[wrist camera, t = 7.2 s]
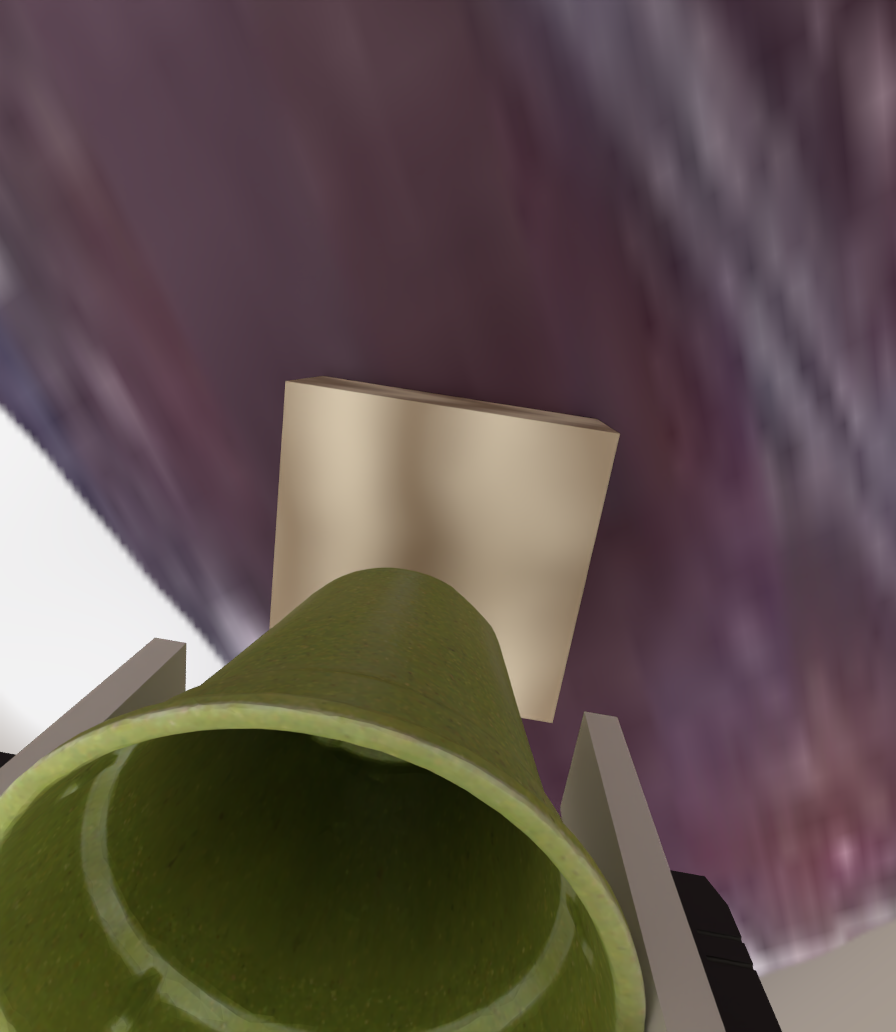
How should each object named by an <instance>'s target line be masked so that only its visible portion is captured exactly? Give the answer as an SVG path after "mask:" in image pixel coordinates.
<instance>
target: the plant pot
mask: <svg viewBox="0 0 896 1032" xmlns="http://www.w3.org/2000/svg"><path fill="white" fill-rule="evenodd" d="M645 1018H646V998H645V989H644V982H643V976H642V971H641V967H640V963H639V960H638V956H637V952H636V949H635V946H634V942H633V939H632V936H631V933H630V930H629V927H628V924H627V921H626V919H625V917H624V914H623V912H622V909H621V907H620V905H619V903H618V901H617V899H616V897H615V895H614V893H613V891H612V888H611V886H610V885H609V883H608V882H607V880H606V879H605V877H604V875H603V874H602V872H601V871H600V869H599V868H598V866H597V864H596V863H595V861H594V860H593V858H592V857H591V856H590V854H589V853H588V852H587V850H586V849H585V848H584V847H583V845H582V844H581V843H580V841H579V840H578V839H577V837H576V836H575V835H574V834H573V833H572V832H571V831H570V830H569V829H568V828H567V826H566V825H565V824H564V823H563V822H562V820H561V818H560V816H559V814H558V813H557V811H556V809H555V808H554V806H553V805H552V803H551V802H550V800H549V799H548V797H547V796H546V794H545V793H544V790H543V787H542V784H541V781H540V778H539V775H538V771H537V768H536V765H535V762H534V759H533V755H532V752H531V749H530V746H529V743H528V740H527V736H526V733H525V730H524V727H523V723H522V720H521V716H520V713H519V710H518V706H517V703H516V700H515V696H514V693H513V689H512V686H511V682H510V679H509V675H508V672H507V668H506V665H505V662H504V659H503V655H502V651H501V648H500V645H499V642H498V639H497V637H496V634H495V632H494V630H493V628H492V627H491V625H490V624H489V623H488V622H487V621H486V619H485V618H484V617H483V616H482V615H481V614H480V613H479V612H478V611H477V610H476V608H475V607H474V606H472V605H471V604H470V603H469V602H468V601H467V600H466V599H465V598H464V597H463V596H462V595H461V594H460V593H458V592H457V591H456V590H455V589H454V588H453V587H452V586H450V585H448V584H447V583H445V582H443V581H441V580H439V579H437V578H435V577H432V576H430V575H427V574H423V573H420V572H416V571H411V570H407V569H400V568H372V569H365V570H360V571H355V572H352V573H349V574H347V575H344V576H341V577H339V578H337V579H335V580H333V581H332V582H330V583H328V584H327V585H325V586H324V587H322V588H321V589H319V590H318V591H316V592H315V593H313V594H312V595H311V596H310V597H308V598H307V599H306V600H305V601H304V602H302V603H301V604H300V605H299V606H297V607H296V608H295V609H294V610H293V611H291V612H290V613H289V614H288V615H287V616H286V617H284V618H283V619H282V620H281V621H280V622H279V623H277V624H276V625H275V626H274V627H272V628H271V629H270V630H269V631H267V632H266V633H265V634H264V635H262V636H261V637H260V638H259V639H257V640H256V641H255V642H254V643H252V644H251V645H250V646H249V647H248V648H246V649H245V650H244V651H243V652H241V653H240V654H239V655H238V656H237V657H235V658H234V659H233V660H232V661H230V662H229V663H228V664H227V665H225V666H224V667H223V668H222V669H220V670H219V671H218V672H216V673H215V674H214V675H213V676H211V677H210V678H209V679H208V680H206V681H205V682H204V683H203V684H201V685H200V686H198V687H195V688H192V689H190V690H187V691H185V692H183V693H181V694H179V695H176V696H174V697H172V698H170V699H168V700H167V701H165V702H162V703H158V704H154V705H150V706H146V707H143V708H140V709H137V710H134V711H131V712H128V713H126V714H123V715H120V716H117V717H114V718H111V719H109V720H106V721H104V722H102V723H100V724H98V725H96V726H94V727H92V728H90V729H88V730H85V731H83V732H81V733H79V734H78V735H76V736H74V737H73V738H71V739H70V740H68V741H66V742H65V743H63V744H61V745H60V746H58V747H57V748H56V749H54V750H53V751H51V752H50V753H49V754H47V755H46V756H44V757H43V758H41V759H40V760H39V761H37V762H36V763H35V764H34V765H33V766H31V767H30V768H29V769H28V770H27V771H25V772H24V773H23V774H22V775H21V776H19V777H18V778H17V779H16V780H15V781H14V782H13V783H12V784H11V785H10V786H9V787H8V788H7V789H6V790H5V791H4V792H3V794H2V795H1V796H0V1032H644V1027H645Z"/></svg>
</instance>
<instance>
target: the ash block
mask: <svg viewBox="0 0 896 1032" xmlns="http://www.w3.org/2000/svg"><path fill="white" fill-rule="evenodd" d="M619 436H620V433H618V432H616V431H615V430H613V429H612V428H610V427H609V426H607V425H605V424H604V423H602V422H601V421H599V420H598V419H593V418H587V417H581V416H574V415H568V414H561V413H555V412H549V411H542V410H536V409H530V408H523V407H517V406H511V405H504V404H498V403H491V402H485V401H479V400H472V399H466V398H460V397H453V396H447V395H440V394H434V393H428V392H421V391H415V390H409V389H402V388H396V387H389V386H383V385H377V384H370V383H364V382H358V381H351V380H345V379H339V378H332V377H326V376H319V377H312V378H304V379H297V380H290V381H286V383H285V399H284V414H283V429H282V445H281V460H280V476H279V491H278V506H277V522H276V537H275V553H274V568H273V584H272V599H271V614H270V629H271V628H272V627H274V626H275V625H276V624H277V623H279V622H280V621H281V620H282V619H283V618H284V617H286V616H287V615H288V614H289V613H290V612H291V611H293V610H294V609H295V608H296V607H297V606H299V605H300V604H301V603H302V602H304V601H305V600H306V599H307V598H308V597H310V596H311V595H312V594H313V593H315V592H316V591H318V590H319V589H321V588H322V587H324V586H325V585H327V584H328V583H330V582H332V581H333V580H335V579H337V578H339V577H341V576H344V575H347V574H349V573H352V572H355V571H360V570H365V569H372V568H400V569H407V570H411V571H416V572H420V573H423V574H427V575H430V576H432V577H435V578H437V579H439V580H441V581H443V582H445V583H447V584H448V585H450V586H452V587H453V588H454V589H455V590H456V591H457V592H458V593H460V594H461V595H462V596H463V597H464V598H465V599H466V600H467V601H468V602H469V603H470V604H471V605H472V606H474V607H475V608H476V610H477V611H478V612H479V613H480V614H481V615H482V616H483V617H484V618H485V619H486V621H487V622H488V623H489V624H490V625H491V627H492V628H493V630H494V632H495V634H496V637H497V639H498V642H499V645H500V648H501V651H502V655H503V659H504V662H505V665H506V668H507V672H508V675H509V679H510V682H511V686H512V689H513V693H514V696H515V700H516V703H517V706H518V710H519V713H520V716H521V718H527V719H532V720H538V721H544V722H550V723H552V722H553V718H554V714H555V709H556V705H557V701H558V697H559V692H560V688H561V684H562V679H563V675H564V671H565V667H566V662H567V658H568V654H569V650H570V645H571V641H572V637H573V632H574V628H575V624H576V620H577V615H578V611H579V607H580V602H581V598H582V594H583V590H584V585H585V581H586V577H587V573H588V568H589V564H590V560H591V555H592V551H593V547H594V543H595V538H596V534H597V530H598V526H599V521H600V517H601V513H602V508H603V504H604V500H605V496H606V491H607V487H608V483H609V479H610V474H611V470H612V466H613V461H614V457H615V453H616V449H617V444H618V440H619Z"/></svg>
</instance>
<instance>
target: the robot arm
mask: <svg viewBox="0 0 896 1032" xmlns="http://www.w3.org/2000/svg"><path fill="white" fill-rule="evenodd" d="M185 683H186V643H182V642H177V641H170V640H165V639H159V638H154V639H153V640H152V641H151V642H150V643H148V644H147V645H146V646H145V647H143V648H142V649H141V650H140V651H139V652H137V653H136V654H135V655H134V656H133V657H132V658H130V659H129V660H128V661H127V662H126V663H124V664H123V665H122V666H121V667H120V668H119V669H118V670H116V671H115V672H114V673H113V674H112V675H110V676H109V677H108V678H107V679H105V680H104V681H103V682H102V683H101V684H100V685H98V686H97V687H96V688H95V689H94V690H92V691H91V692H90V693H89V694H88V695H87V696H86V697H84V698H83V699H82V700H81V701H79V702H78V703H77V704H76V705H75V706H74V707H72V708H71V709H70V710H69V711H68V712H66V713H65V714H64V715H63V716H62V717H60V718H59V719H58V720H57V721H56V722H55V723H53V724H52V725H51V726H50V727H49V728H47V729H46V730H45V731H44V732H43V733H42V734H40V735H39V736H38V737H37V738H36V739H34V740H33V741H32V742H31V743H30V744H28V745H27V746H26V747H25V748H24V749H23V750H21V751H20V752H19V753H18V754H17V755H14V754H9V753H3V752H0V796H1V795H2V794H3V792H4V791H5V790H6V789H7V788H8V787H9V786H10V785H11V784H12V783H13V782H14V781H15V780H16V779H17V778H18V777H19V776H21V775H22V774H23V773H24V772H25V771H27V770H28V769H29V768H30V767H31V766H33V765H34V764H35V763H36V762H37V761H39V760H40V759H41V758H43V757H44V756H46V755H47V754H49V753H50V752H51V751H53V750H54V749H56V748H57V747H58V746H60V745H61V744H63V743H65V742H66V741H68V740H70V739H71V738H73V737H74V736H76V735H78V734H79V733H81V732H83V731H85V730H88V729H90V728H92V727H94V726H96V725H98V724H100V723H102V722H104V721H106V720H109V719H111V718H114V717H117V716H120V715H123V714H126V713H128V712H131V711H134V710H137V709H140V708H143V707H146V706H150V705H154V704H158V703H162V702H165V701H167V700H168V699H170V698H172V697H174V696H176V695H179V694H181V693H183V692H185ZM560 808H561V814H562V821H563V823H564V824H565V825H566V826H567V828H568V829H569V830H570V831H571V832H572V833H573V834H574V835H575V836H576V837H577V839H578V840H579V841H580V843H581V844H582V845H583V847H584V848H585V849H586V850H587V852H588V853H589V854H590V856H591V857H592V858H593V860H594V861H595V863H596V864H597V866H598V868H599V869H600V871H601V872H602V874H603V875H604V877H605V879H606V880H607V882H608V883H609V885H610V886H611V888H612V891H613V893H614V895H615V897H616V899H617V901H618V903H619V905H620V907H621V909H622V912H623V914H624V917H625V919H626V921H627V924H628V927H629V930H630V933H631V936H632V939H633V942H634V946H635V949H636V952H637V956H638V960H639V963H640V967H641V971H642V976H643V982H644V989H645V998H646V1018H645V1027H644V1032H782V1031H781V1028H780V1026H779V1024H778V1021H777V1019H776V1017H775V1014H774V1012H773V1010H772V1007H771V1005H770V1003H769V1000H768V998H767V996H766V993H765V991H764V989H763V986H762V984H761V982H760V979H759V977H758V975H757V972H756V971H755V970H753V963H752V960H751V958H750V956H749V953H748V951H747V949H746V946H745V944H744V943H742V941H741V935H740V932H739V930H738V928H737V925H736V923H735V921H734V918H733V916H732V914H731V911H730V909H729V907H728V905H727V904H726V902H725V901H724V900H723V899H722V897H721V896H720V895H719V894H718V892H717V891H716V890H715V889H714V887H713V886H712V885H711V884H710V882H709V881H708V880H707V879H706V877H705V876H699V875H694V874H688V873H683V872H677V871H671V870H670V869H669V866H668V863H667V860H666V857H665V854H664V852H663V849H662V846H661V843H660V840H659V837H658V834H657V831H656V828H655V825H654V823H653V820H652V817H651V814H650V811H649V808H648V805H647V802H646V799H645V797H644V794H643V791H642V788H641V785H640V782H639V779H638V776H637V773H636V770H635V768H634V765H633V762H632V759H631V756H630V753H629V750H628V747H627V744H626V741H625V739H624V736H623V733H622V730H621V727H620V724H619V721H618V718H617V717H613V716H607V715H601V714H596V713H590V712H584V715H583V719H582V723H581V727H580V731H579V735H578V739H577V743H576V747H575V751H574V755H573V759H572V763H571V767H570V771H569V775H568V779H567V783H566V787H565V791H564V795H563V799H562V803H561V807H560Z"/></svg>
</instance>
